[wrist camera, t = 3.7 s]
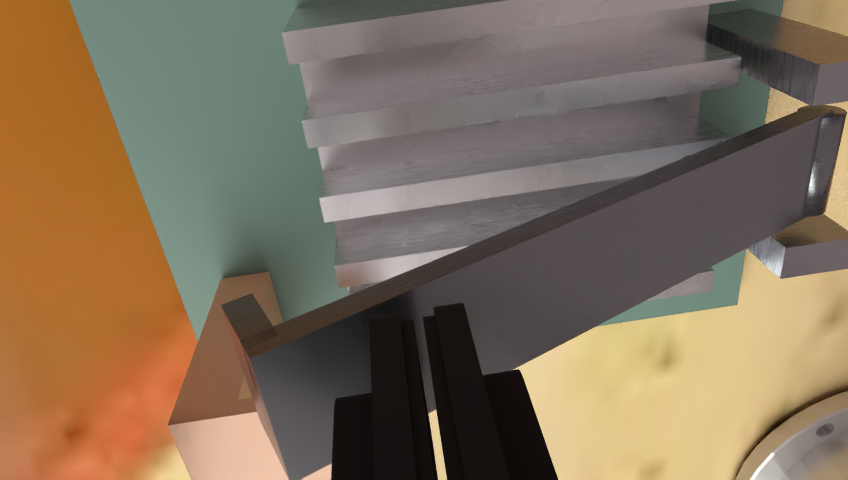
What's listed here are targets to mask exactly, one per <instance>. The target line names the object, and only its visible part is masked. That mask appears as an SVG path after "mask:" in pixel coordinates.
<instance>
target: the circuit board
mask: <svg viewBox="0 0 848 480" xmlns="http://www.w3.org/2000/svg"><path fill="white" fill-rule="evenodd" d="M69 1H70V4H71V7H72V9H73V12H74V15H75V17H76V20H77V23H78V25H79V28H80V31H81V33H82V36H83V39H84V41H85V44H86V46H87V49H88V52H89V54H90V57H91V60H92V62H93V65H94V68H95V70H96V73H97V76H98V78H99V81H100V84H101V86H102V89H103V92H104V94H105V97H106V100H107V102H108V105H109V107H110V110H111V113H112V115H113V118H114V121H115V123H116V126H117V129H118V131H119V134H120V137H121V139H122V142H123V145H124V147H125V150H126V153H127V155H128V158H129V161H130V163H131V166H132V168H133V171H134V174H135V176H136V179H137V182H138V184H139V187H140V190H141V192H142V195H143V198H144V200H145V203H146V206H147V208H148V211H149V214H150V216H151V219H152V222H153V224H154V227H155V229H156V232H157V235H158V237H159V240H160V243H161V245H162V248H163V251H164V253H165V256H166V259H167V261H168V264H169V267H170V269H171V272H172V275H173V277H174V280H175V283H176V285H177V288H178V290H179V293H180V296H181V298H182V301H183V304H184V306H185V309H186V312H187V314H188V317H189V320H190V322H191V325H192V328H193V330H194V333H195V336H196V338H197V341H199V338H200V335H201V332H202V330H203V327H204V324H205V321H206V319H207V316H208V313H209V310H210V308H211V305H212V302H213V299H214V297H215V294H216V291H217V288H218V285H219V283H220V280H221V279H223V278H229V277H236V276H243V275H249V274H256V273H263V272H269V273H270V277H271V280H272V284H273V287H274V291H275V294H276V298H277V301H278V305H279V308H280V312H281V315H282V319H283V322H285V321H287V320H290V319H292V318H295V317H297V316H300V315H302V314H305V313H307V312H309V311H312V310H314V309H317V308H319V307H322V306H324V305H326V304H329V303H331V302H334V301H336V300H339V299H341V298H343V297H346V296H348V295H349V290H348V287H342V288H339V285H338V280H337V276H336V272H335V267H334V263H335V248H336V230H335V226H334V221H332V222H325V223H324V218H323V214H322V209H321V205H320V201H319V194H320V187H321V179H322V172H323V171H322V166H321V161H320V157H319V152H318V147H317V148H310V149H308V147H307V143H306V138H305V134H304V129H303V125H302V117H303V113H304V109H305V106H306V102H307V97H306V92H305V88H304V83H303V78H302V74H301V69H300V65H299V63H297V64H290V65H289V63H288V58H287V54H286V50H285V45H284V41H283V36H282V31H283V29H284V28H285V26H286V24H287V22H288V21H289V19H290V17H291V15H292V14H293V12H294V10H295V8H296V7H302V6H309V5H316V4H323V3H330V2H337V1H344V0H69ZM782 5H783V0H735V1H728V2H721V3H714V4H709V13H708V15H712V14H719V13H726V12H733V11H740V10H747V9H755V10H759V11H762V12H766V13H769V14H773V15H776V16H779V17H781V12H782ZM769 91H770V86H768V85H766V84H764V83H762V82H760V81H757V80H755V79H753V78H751V77H749V76H747V75H745V74H743V73H740V72H739V78H738V86H733V87H726V88H719V89H712V90H706V91H701V95H700V106H699V116H700V117H701V118H703V119H704V120H706V121H708V122H709V123H711V124H712V125H714V126H715V127H717V128H718V129H720V130H721V131H723V132H724V133H726V134H727V135H729V136H730V137H731V138H733V137H736V136H738V135H741V134H743V133H746V132H748V131H751V130H753V129H755V128H758V127H760V126H763V125H764V124H765V118H766V111H767V105H768V98H769ZM745 250H746V249H744V250H742V251H741V252H739V253H737V254H735V255H733V256H731V257H729V258H727V259H725V260H723V261H721V262H719V263H717V264H715V265H714V266H712V267H711V268H712V269H713V270H714V277H713V285H712V291H709V292H703V293H696V294H690V295H683V296H677V297H670V298H664V299H657V300H651V301H644V302H642V303H640V304H638V305H636V306H634V307H633V308H631V309H629V310H627V311H625V312H623V313H621V314H619V315H617V316H615V317H613V318H611V319H609V320H607V321H605V322H604V323H602V324H600V325H598V326H602V325H608V324H615V323H621V322H628V321H634V320H641V319H647V318H654V317H661V316H667V315H674V314H680V313H687V312H693V311H700V310H706V309H713V308H719V307H726V306H732V305H737V303H738V297H739V290H740V283H741V277H742V270H743V263H744V257H745Z"/></svg>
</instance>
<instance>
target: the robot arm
mask: <svg viewBox="0 0 848 480" xmlns="http://www.w3.org/2000/svg"><path fill="white" fill-rule="evenodd" d="M433 311H434V315H432V316H425V317H423V323H424V330H425V337H426V343H427V350H428V357H429V363H430V370H431V376H432V383H433V390H434V396H435V403H436V410H437V416H438V423H439V429H440V436H441V442H442V449H443V455H444V462H445V468H446V474H447V480H558V478H557V475H556V472H555V469H554V466H553V463H552V460H551V457H550V454H549V452H548V449H547V446H546V443H545V440H544V437H543V434H542V431H541V428H540V425H539V422H538V420H537V417H536V414H535V411H534V408H533V405H532V402H531V399H530V396H529V393H528V390H527V388H526V385H525V382H524V379H523V376H522V374H521V372H520V370H519V369H518V370H511V371H505V372H499V373H492V374H486V375H482V371H481V367H480V363H479V360H478V356H477V352H476V348H475V344H474V341H473V337H472V333H471V329H470V325H469V321H468V318H467V314H466V310H465V306H464V303H463V302H462V303H456V304H449V305H443V306H436V307H433ZM369 329H370V359H371V390H372V393H366V394H360V395H354V396H347V397H341V398H336V400H335V404H334V421H333V445H332V469H331V480H438V477H437V470H436V463H435V455H434V448H433V441H432V435H431V428H430V422H429V416H428V409H427V403H426V397H425V391H424V385H423V378H422V372H421V366H420V360H419V353H418V347H417V341H416V335H415V329H414V322H413V318H412V319H406V320H401V316H400V312H398V313H391V314H385V315H378V316H372V317H370V318H369ZM735 480H848V391H846V392H842V393H839V394H836V395H834V396H831V397H829V398H827V399H824V400H822V401H820V402H817V403H815V404H813V405H811V406H809V407H807V408H806V409H804V410H802V411H800V412H799V413H797V414H795V415H793V416H792V417H790V418H789V419H788V420H786V421H785V422H784V423H782V424H781V425H780V426H778V427H777V428H776V429H774V430H773V431H772V432H771V433H770V434H768V435H767V436H766V437H765V438H764V439H763V440H762V441H761V442H760V443H759V444H758V445H757V446H756V447H755V449H754V450H753V451H752V453H751V454H750V455H749V457H748V458H747V459H746V461H745V462H744V463H743V465H742V467H741V469H740V471H739V473H738V475H737V477H736V479H735Z"/></svg>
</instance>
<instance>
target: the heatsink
mask: <svg viewBox="0 0 848 480" xmlns="http://www.w3.org/2000/svg"><path fill="white" fill-rule="evenodd" d="M728 1H735V0H344V1H337V2H330V3H323V4H316V5H309V6H302V7H296V8H295V10H294V12H293V14H292V15H291V17H290V19H289V21H288V22H287V24H286V26H285V28H284V29H283V31H282V36H283V41H284V45H285V50H286V54H287V58H288V63H289V65H290V64H297V63H299V65H300V69H301V74H302V78H303V83H304V88H305V92H306V97H307V102H306V106H305V109H304V113H303V117H302V125H303V129H304V134H305V138H306V143H307V147H308V149H310V148H317V147H318V152H319V157H320V161H321V166H322V171H323V172H322V179H321V187H320V194H319V201H320V205H321V209H322V214H323V218H324V223H325V222H332V221H334V226H335V230H336V248H335V263H334V267H335V272H336V276H337V280H338V285H339V288H342V287H348V290H349V295H351V294H353V293H356V292H358V291H361V290H363V289H365V288H368V287H370V286H373V285H375V284H378V283H380V282H382V281H385V280H387V279H390V278H392V277H395V276H397V275H400V274H402V273H404V272H407V271H409V270H412V269H414V268H417V267H419V266H421V265H424V264H426V263H429V262H431V261H434V260H436V259H439V258H441V257H443V256H446V255H448V254H451V253H453V252H456V251H458V250H460V249H463V248H465V247H468V246H470V245H473V244H475V243H478V242H480V241H482V240H485V239H487V238H490V237H492V236H495V235H497V234H499V233H502V232H504V231H507V230H509V229H512V228H514V227H517V226H519V225H521V224H524V223H526V222H529V221H531V220H534V219H536V218H538V217H541V216H543V215H546V214H548V213H551V212H553V211H556V210H558V209H560V208H563V207H565V206H568V205H570V204H573V203H575V202H577V201H580V200H582V199H585V198H587V197H590V196H592V195H595V194H597V193H599V192H602V191H604V190H607V189H609V188H612V187H614V186H616V185H619V184H621V183H624V182H626V181H629V180H631V179H634V178H636V177H638V176H641V175H643V174H646V173H648V172H651V171H653V170H655V169H658V168H660V167H663V166H665V165H668V164H670V163H673V162H675V161H677V160H680V159H682V158H685V157H687V156H690V155H692V154H694V153H697V152H699V151H702V150H704V149H707V148H709V147H712V146H714V145H716V144H719V143H721V142H724V141H726V140H729V139H731V137H730V136H729V135H727V134H726V133H724V132H723V131H721V130H720V129H718V128H717V127H715V126H714V125H712V124H711V123H709V122H708V121H706V120H704V119H703V118H701V117H700V116H699V106H700V95H701V91H706V90H712V89H719V88H726V87H733V86H738V78H739V72H740V73H743V74H745V75H747V76H749V77H751V78H753V79H755V80H757V81H760V82H762V83H764V84H766V85H768V86H770V87H772V88H774V89H777V90H779V91H781V92H783V93H785V94H787V95H789V96H792V97H794V98H796V99H798V100H800V101H802V102H804V103H806V104H809V105H811V106H818V105H825V104H831V103H838V102H845V101H848V36H844V35H841V34H838V33H834V32H831V31H827V30H824V29H820V28H817V27H814V26H810V25H807V24H803V23H800V22H797V21H793V20H790V19H786V18H783V17H779V16H776V15H773V14H769V13H766V12H762V11H759V10H755V9H747V10H740V11H733V12H726V13H719V14H712V15H708V13H709V4H714V3H721V2H728ZM747 249H748V250H749V251H750V252H751V253H752V254H754V255H755V256H756V257H757V258H758V259H759V260H760V261H761V262H762V263H763V264H764V265H766V266H767V267H768V268H769V269H770V270H771V271H772V272H773V273H774V274H775V275H776V276H778V277H779V278H780V279H782V278H789V277H795V276H802V275H808V274H815V273H821V272H828V271H835V270H841V269H848V231H847V230H846V229H844V228H843V227H842V226H840V225H839V224H837V223H836V222H834V221H833V220H831V219H830V218H829V217H827V216H826V215H824V214H821V215H818V216H809V217H806V218H804V219H802V220H800V221H798V222H797V223H795V224H793V225H791V226H789V227H787V228H785V229H783V230H781V231H779V232H777V233H775V234H773V235H771V236H769V237H768V238H766V239H764V240H762V241H760V242H758V243H756V244H754V245H752V246H750V247H748V248H747ZM713 277H714V270H713V269H712V268H711V267H710V268H708V269H706V270H704V271H702V272H700V273H698V274H696V275H694V276H692V277H690V278H688V279H687V280H685V281H683V282H681V283H679V284H677V285H675V286H673V287H671V288H669V289H667V290H665V291H663V292H661V293H660V294H658V295H656V296H654V297H652V298H650V299H648V300H646V301H651V300H657V299H664V298H670V297H677V296H683V295H690V294H696V293H703V292H709V291H712V285H713Z"/></svg>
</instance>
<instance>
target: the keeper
mask: <svg viewBox="0 0 848 480" xmlns="http://www.w3.org/2000/svg"><path fill="white" fill-rule="evenodd" d="M251 293H252V294H253V296H254V297H255V299H256V300H257V302H258V303H259V305H260V306H261V308H262V310H263V311H264V313H265V314H266V316H267V317H268V319H269V320H270V322H271V323H272V325H273V326H275V325H278V324H280V323H283V319H282V315H281V312H280V308H279V305H278V301H277V298H276V294H275V291H274V287H273V284H272V280H271V277H270V273H269V272H263V273H256V274H249V275H243V276H236V277H229V278H223V279H221V280H220V283H219V285H218V288H217V291H216V294H215V297H214V299H213V302H212V305H211V308H210V310H209V313H208V316H207V319H206V321H205V324H204V327H203V330H202V332H201V335H200V338H199V341H198V343H197V346H196V349H195V352H194V354H193V357H192V360H191V363H190V365H189V368H188V371H187V374H186V377H185V379H184V382H183V385H182V388H181V390H180V393H179V396H178V399H177V401H176V404H175V407H174V410H173V412H172V415H171V418H170V421H169V423H168V427H169V430H170V432H171V434H172V436H173V439H174V441H175V443H176V445H177V448H178V450H179V452H180V454H181V457H182V459H183V461H184V463H185V466H186V468H187V470H188V472H189V475H190V477H191V479H192V480H289V479H288V477H287V475H286V473H285V471H284V469H283V467H282V465H281V463H280V461H279V459H278V457H277V455H276V453H275V451H274V449H273V446H272V444H271V442H270V440H269V438H268V436H267V434H266V432H265V430H264V428H263V426H262V424H261V422H260V419H259V416H258V413H257V410H256V407H255V404H254V401H253V398H252V396H251V393H250V390H249V387H248V384H247V381H246V378H245V375H244V372H243V369H242V366H241V363H240V360H239V358H238V355H237V352H236V349H235V346H234V343H233V340H232V337H231V334H230V331H229V328H228V325H227V322H226V320H225V317H224V314H223V311H222V308H221V305H222V304H225V303H228V302H230V301H233V300H235V299H238V298H241V297H243V296H246V295H248V294H251ZM331 469H332V464H330V465H328V466H326V467H324V468H322V469H320V470H318V471H316V472H314V473H312V474H310V475H308V476H306V477H304V478H303V479H301V480H331Z"/></svg>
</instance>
